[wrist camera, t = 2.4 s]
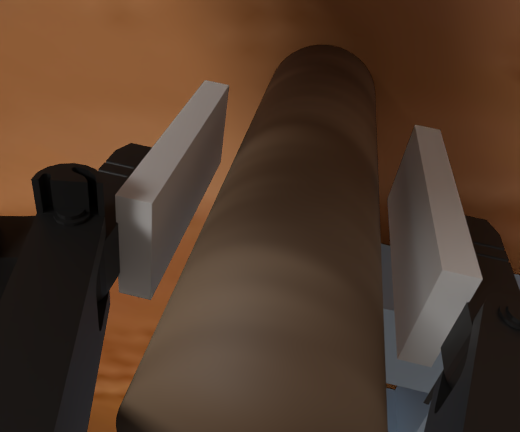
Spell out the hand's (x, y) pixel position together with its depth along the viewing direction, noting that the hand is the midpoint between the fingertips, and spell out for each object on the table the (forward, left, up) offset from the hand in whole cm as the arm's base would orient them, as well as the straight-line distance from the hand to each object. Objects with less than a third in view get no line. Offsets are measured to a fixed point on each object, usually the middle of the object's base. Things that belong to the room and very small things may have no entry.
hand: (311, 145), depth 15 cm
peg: (0, 0, -4) cm, 4 cm away
